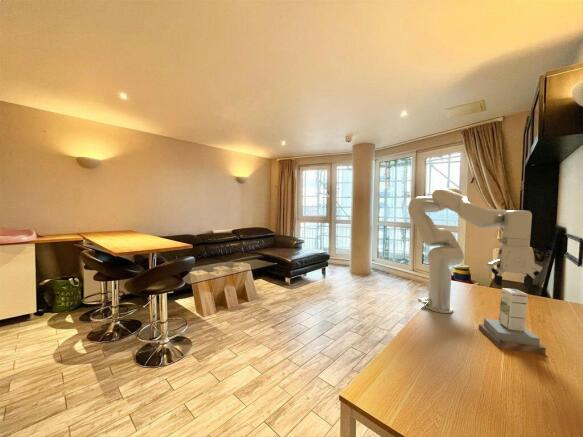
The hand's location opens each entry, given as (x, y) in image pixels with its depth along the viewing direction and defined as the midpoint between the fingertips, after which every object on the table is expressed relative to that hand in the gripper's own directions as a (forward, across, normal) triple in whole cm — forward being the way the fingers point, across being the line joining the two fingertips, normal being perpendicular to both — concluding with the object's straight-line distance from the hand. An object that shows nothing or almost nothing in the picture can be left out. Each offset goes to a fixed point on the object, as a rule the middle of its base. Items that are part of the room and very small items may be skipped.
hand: (512, 286), depth 91 cm
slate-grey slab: (+20, 0, 0) cm, 20 cm away
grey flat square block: (+22, 0, 0) cm, 23 cm away
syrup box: (+16, 0, 0) cm, 17 cm away
